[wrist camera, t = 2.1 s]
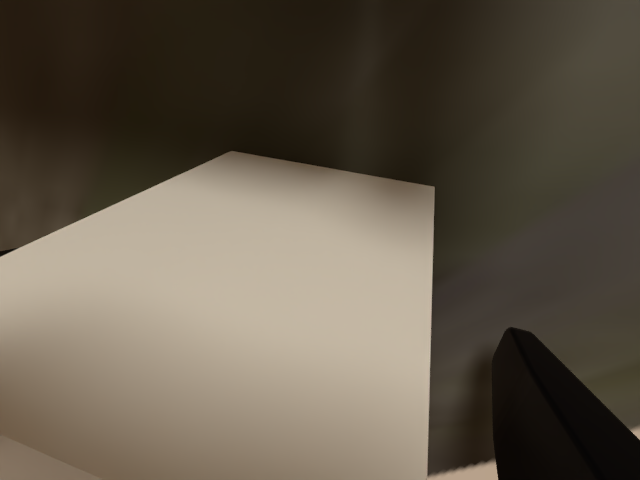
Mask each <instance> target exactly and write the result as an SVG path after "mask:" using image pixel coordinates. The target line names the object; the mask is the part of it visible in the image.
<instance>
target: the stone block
mask: <svg viewBox="0 0 640 480" xmlns="http://www.w3.org/2000/svg"><path fill="white" fill-rule="evenodd" d="M434 197H435V187H433V186H427V185H421V184H416V183H410V182H404V181H399V180H393V179H387V178H382V177H376V176H371V175H365V174H359V173H354V172H348V171H342V170H337V169H331V168H325V167H320V166H314V165H308V164H303V163H297V162H292V161H286V160H280V159H275V158H269V157H263V156H258V155H252V154H246V153H241V152H235V151H230V152H228V153H226V154H223V155H221V156H219V157H217V158H215V159H213V160H210V161H208V162H206V163H204V164H202V165H199V166H197V167H195V168H193V169H191V170H189V171H186V172H184V173H182V174H180V175H178V176H175V177H173V178H171V179H169V180H167V181H165V182H162V183H160V184H158V185H156V186H154V187H151V188H149V189H147V190H145V191H143V192H141V193H138V194H136V195H134V196H132V197H130V198H128V199H125V200H123V201H121V202H119V203H117V204H114V205H112V206H110V207H108V208H106V209H104V210H101V211H99V212H97V213H95V214H93V215H90V216H88V217H86V218H84V219H82V220H80V221H77V222H75V223H73V224H71V225H69V226H66V227H64V228H62V229H60V230H58V231H56V232H53V233H51V234H49V235H47V236H45V237H42V238H40V239H38V240H36V241H34V242H32V243H29V244H27V245H25V246H23V247H21V248H18V249H16V250H14V251H12V252H10V253H8V254H5V255H3V256H1V257H0V480H427V461H428V423H429V386H430V348H431V310H432V272H433V234H434Z"/></svg>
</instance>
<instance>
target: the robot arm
mask: <svg viewBox="0 0 640 480" xmlns="http://www.w3.org/2000/svg"><path fill="white" fill-rule="evenodd" d="M16 249H18V248H15V249H10V250H5V251H0V257H1V256H3V255H5V254H8V253H10V252H12V251H14V250H16ZM492 414H493V441H494V450H495V458H496V465H497V473H498V480H640V440H639V439H638V438H637V437H636V436H635V435H634V434H633V433H632V432H631V431H630V430H629V429H628V428H627V427H626V426H625V425H624V424H623V423H622V422H621V421H620V420H619V419H618V418H617V417H616V416H615V415H614V414H613V413H612V412H611V411H610V410H609V409H608V408H607V407H606V406H605V405H604V404H603V403H602V402H601V401H600V400H599V399H598V398H597V397H596V396H595V395H594V394H593V393H592V392H591V391H590V390H589V389H588V388H587V387H586V386H585V385H584V384H583V383H582V382H581V381H580V380H579V379H578V378H577V377H576V376H575V375H574V374H573V373H572V372H571V371H570V370H569V369H568V368H567V367H566V366H565V365H564V364H563V363H562V362H561V361H560V360H559V359H558V358H557V357H556V356H555V355H554V354H553V353H552V352H551V351H550V350H549V349H548V348H547V347H546V346H545V345H544V344H543V343H542V342H541V341H540V340H539V339H538V338H537V337H536V336H535V335H534V334H532V333H531V332H529V331H526V330H521V329H517V328H513V327H510V328H508V329H507V330H506V331H505V332H504V334H503V337H502V339H501V341H500V343H499V345H498V347H497V349H496V351H495V354H494V356H493V360H492Z"/></svg>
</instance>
